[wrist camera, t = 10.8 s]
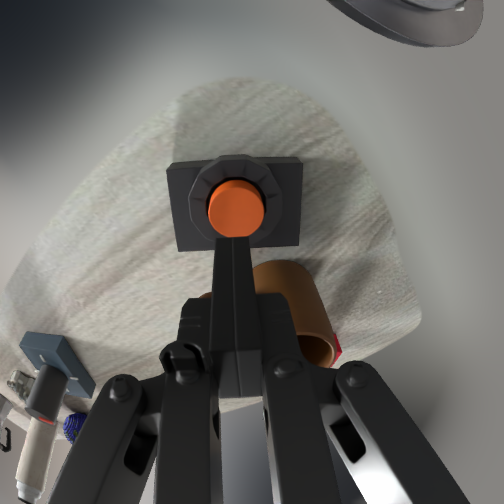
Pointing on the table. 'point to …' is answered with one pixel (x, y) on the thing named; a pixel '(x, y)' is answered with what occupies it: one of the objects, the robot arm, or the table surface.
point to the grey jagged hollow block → (21, 385)
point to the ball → (73, 426)
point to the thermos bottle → (35, 460)
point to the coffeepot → (3, 406)
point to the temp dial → (47, 395)
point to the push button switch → (236, 168)
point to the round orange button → (236, 209)
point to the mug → (299, 307)
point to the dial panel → (58, 361)
